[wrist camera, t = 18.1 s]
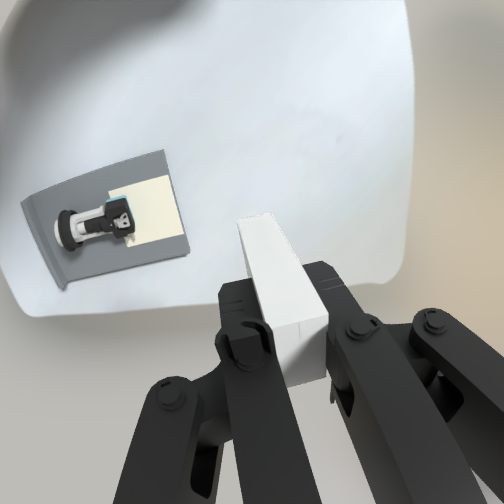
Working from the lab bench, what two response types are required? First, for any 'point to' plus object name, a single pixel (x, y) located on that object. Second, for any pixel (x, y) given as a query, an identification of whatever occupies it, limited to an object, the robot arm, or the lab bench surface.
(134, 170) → the grey lipped board
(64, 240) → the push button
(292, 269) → the robot arm
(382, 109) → the lab bench surface
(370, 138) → the lab bench surface
